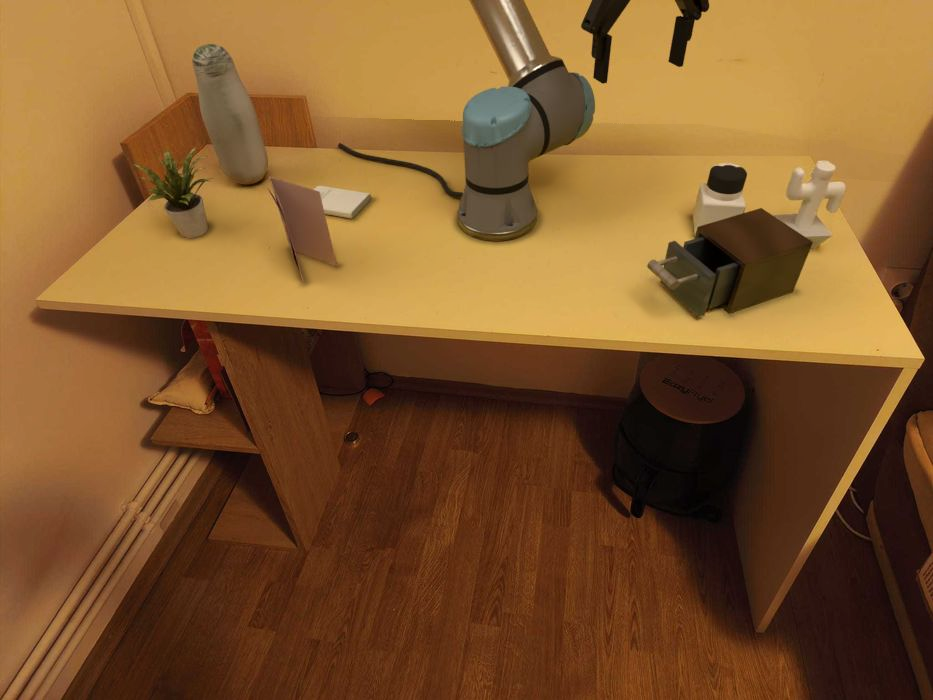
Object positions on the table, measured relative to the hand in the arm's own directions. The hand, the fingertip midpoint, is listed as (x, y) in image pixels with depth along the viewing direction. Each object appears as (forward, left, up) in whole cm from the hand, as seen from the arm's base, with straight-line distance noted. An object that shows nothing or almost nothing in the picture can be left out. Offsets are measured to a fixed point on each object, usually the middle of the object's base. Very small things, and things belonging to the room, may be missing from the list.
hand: (638, 72), depth 94 cm
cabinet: (+23, -7, -29) cm, 37 cm away
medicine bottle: (+16, +8, -29) cm, 34 cm away
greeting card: (-47, -31, -29) cm, 63 cm away
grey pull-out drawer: (+17, -14, -28) cm, 36 cm away
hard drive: (-55, -13, -29) cm, 63 cm away
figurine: (+30, +9, -29) cm, 43 cm away
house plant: (-74, -32, -29) cm, 86 cm away
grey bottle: (-79, -12, -29) cm, 85 cm away
